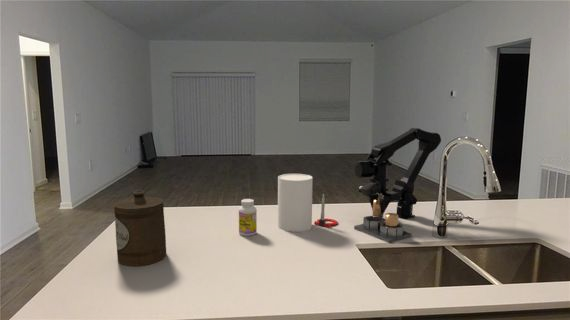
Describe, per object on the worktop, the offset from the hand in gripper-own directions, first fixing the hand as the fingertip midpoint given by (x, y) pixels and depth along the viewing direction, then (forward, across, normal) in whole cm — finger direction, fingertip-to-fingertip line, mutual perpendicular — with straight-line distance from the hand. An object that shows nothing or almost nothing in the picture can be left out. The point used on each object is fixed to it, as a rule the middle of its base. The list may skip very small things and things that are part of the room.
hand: (378, 212), depth 169 cm
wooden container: (+3, -11, -94) cm, 95 cm away
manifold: (+3, +13, -11) cm, 17 cm away
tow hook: (+3, -7, -22) cm, 23 cm away
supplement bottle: (+3, -13, -55) cm, 56 cm away
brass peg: (+2, 0, 0) cm, 2 cm away
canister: (+3, -11, -35) cm, 37 cm away
